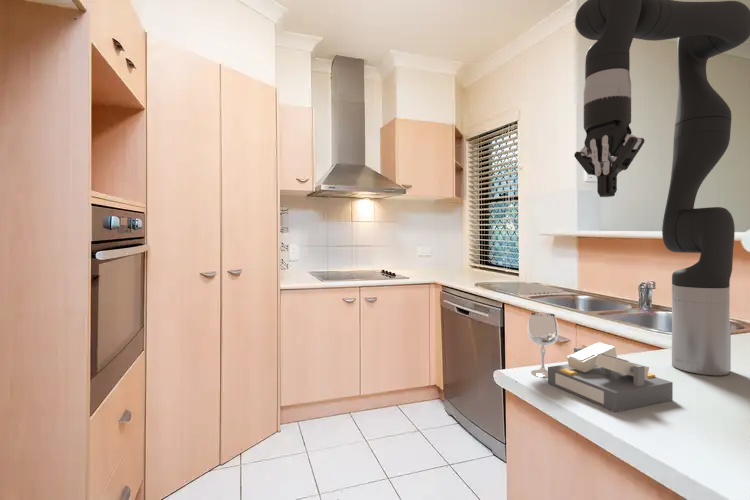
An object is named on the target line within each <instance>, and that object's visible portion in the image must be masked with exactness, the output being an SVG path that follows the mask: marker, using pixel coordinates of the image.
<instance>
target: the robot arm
mask: <svg viewBox="0 0 750 500" xmlns="http://www.w3.org/2000/svg"><path fill="white" fill-rule="evenodd" d="M574 26H575V29H576V31H577V32H578V33H579V35H580V36H582V37H584V38H585V39H588V40H592V41H596V42H594V43H593V44H592V45H591V46H590V47H589V48H588V49H587V51H586V53H585V57H584V58H585V59H584V89H583V129H584V132H585V134H586V135H585V139H584V143H583V144H584V146H583V148H582V149H581V150H580V151H575V152H574V155H573V156H574V158H575V159H576V160H577V162H578V163H579V165H580V166H581V167H582V168H583V170H584V171H585V172H586V174H587V175H591V176H595V177H596V179H597V182H596V184H597V188H596V189H597V193H598V195H599V197H600V198H611V197H612V198H613V197H615V194H616V193H617V191H618V187H617V186H618V175H619V173H621V172H622V171H626V170H627V169H629V167H630V165H631V163H632V162H633V161H634V159H635V157H637V154H638V153H639V152H640V150H641V148H642V147H643V145H644V143H645V142H646V141H645V138H643V137H638V136H635V135H633V134H632V128H631V127H630V124H631V123H632V80H631V75H630V74H631V73H630V68H631V67H630V66H631V65H630V64H631V62H630V59H631V58H630V54H631V53H630V50H631V46H632V43H633V40H634V39H636V40H642V41H665V40H672V39H677V45H676V46H677V49H676V51H677V52H676V53H677V79H678V80H677V82H678V83H677V102H676V115H675V116H676V117H675V122H674V130H673V131H674V132H673V133H674V134H673V147H672V148H673V149H672V150H673V151H672V163H671V164H672V165H671V174H670V175H671V176H670V180H669V181H670V183H669V188H668V192H667V193H668V194H667V197H666V198H667V199H666V204H665V208H664V213H663V219H662V226H661V227H662V228H661V234H662V241H663V245H664V246H665V248H666V249H667V250H668V251H670V252H673V253H690V254H692V253H693V254H700V255H699V258H698V259H699V260H698V261H697V262H696V263H695V264H693V265H691V266H688V267H685V268H681V269H678V270H674V271H673V272H672V274H671V365H672V366H673V368H676V369H678V370H681V371H684V372H689V373H693V374H698V375H707V376H727V375H729V374H730V371H731V369H732V368H731V367H732V366H731V365H732V364H731V363H732V362H731V357H732V356H731V355H732V353H731V352H732V350H731V347H732V345H731V343H732V342H731V341H732V340H731V339H732V338H731V337H732V336H731V335H732V333H731V331H732V327H731V323H730V318H731V317H730V316H731V315H730V313H731V312H730V310H731V309H730V307H731V305H730V303H731V302H730V292H731V291H730V282H731V276H732V271H733V261H734V260H733V259H734V247H735V245H734V244H735V235H736V234H735V221H734V218H733V215H732V213H731V212H730V211H729V209H727V208H725V207H721V206H713V207H711V206H710V207H701V208H700V207H699V208H695V203H696V199H697V194H698V192H699V189H700V187H701V186H702V183H703V182H704V181H705V180H706V178H707V177H708V175H709V174H710V173H711V171H713V169H714V168H715V167H716V165H717V164H718V162H720V160H721V159H722V157H723V156H724V154H725V153H726V152H727V149H728V148H729V144H730V141H731V131H732V130H731V129H732V111H731V109H730V106H729V104H727V102H726V101H725V99H723V97H721V96H720V94H719V93H718V92H717V91H716V90H715V89H714V88H713V86H712V85H711V83H709V80H708V75H707V62H708V59H710V58H713V57H716V56H718V55H721V54H723V53H726V52H728V51H731V50H732V49H735V48H737V47H739V46H741V45H742V44H744V43H745V42H746V41H747V40H748V39H749V38H750V8H749V7H748V5H746V4H745V3H743V2H741V1H738V0H720V1H683V0H682V1H680V0H585V1H584V2H583V3H581V5H580V6H579V7H578V9H577V10H576V12H575V17H574Z"/></svg>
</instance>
